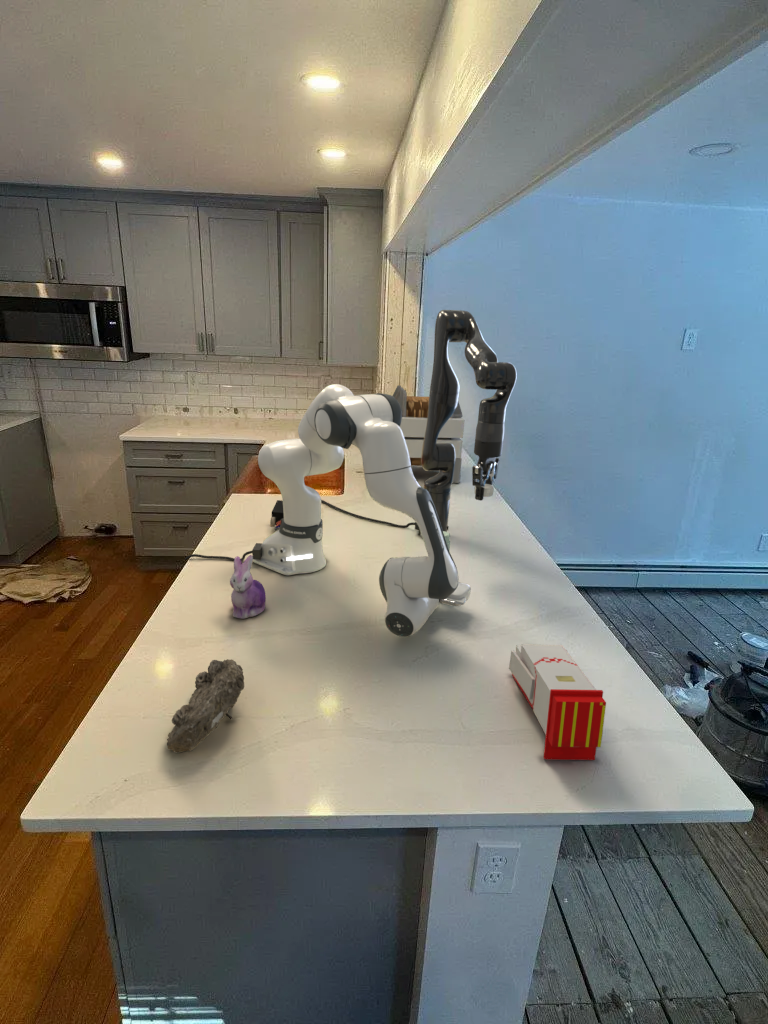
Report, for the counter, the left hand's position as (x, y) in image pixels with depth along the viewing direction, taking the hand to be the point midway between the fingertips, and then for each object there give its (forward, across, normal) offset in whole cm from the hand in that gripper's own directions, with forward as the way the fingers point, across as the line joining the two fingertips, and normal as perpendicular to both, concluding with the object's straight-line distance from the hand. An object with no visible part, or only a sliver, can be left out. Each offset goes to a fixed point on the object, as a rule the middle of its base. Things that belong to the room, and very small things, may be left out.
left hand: (440, 575), depth 156 cm
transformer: (+114, +49, +7) cm, 125 cm away
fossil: (-67, +22, +6) cm, 71 cm away
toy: (-36, -35, +6) cm, 50 cm away
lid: (+14, -6, -23) cm, 28 cm away
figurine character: (+22, +67, +6) cm, 71 cm away
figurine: (-32, +41, +6) cm, 52 cm away
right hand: (+14, -6, -20) cm, 25 cm away
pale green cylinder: (-1, 0, +6) cm, 6 cm away
